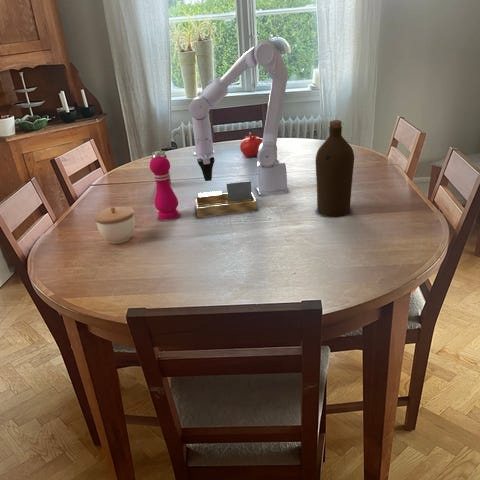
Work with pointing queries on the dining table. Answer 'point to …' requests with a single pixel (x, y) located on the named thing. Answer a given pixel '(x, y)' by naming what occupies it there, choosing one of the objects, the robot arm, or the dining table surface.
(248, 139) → the pomegranate
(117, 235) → the trinket box
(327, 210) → the olive oil
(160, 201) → the pepper mill
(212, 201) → the coaster basket
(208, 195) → the sage coaster
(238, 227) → the dining table surface
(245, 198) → the blue coaster
